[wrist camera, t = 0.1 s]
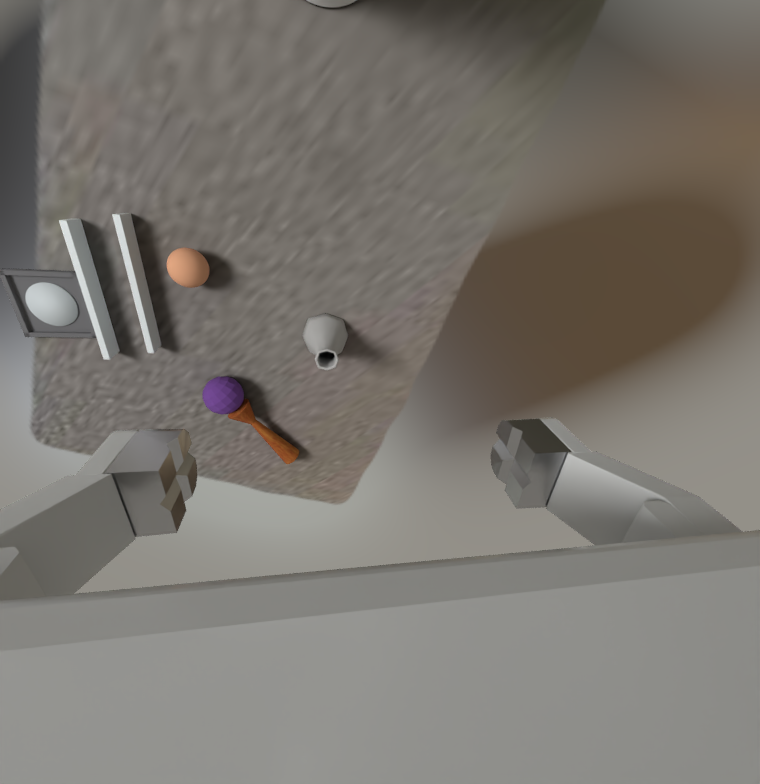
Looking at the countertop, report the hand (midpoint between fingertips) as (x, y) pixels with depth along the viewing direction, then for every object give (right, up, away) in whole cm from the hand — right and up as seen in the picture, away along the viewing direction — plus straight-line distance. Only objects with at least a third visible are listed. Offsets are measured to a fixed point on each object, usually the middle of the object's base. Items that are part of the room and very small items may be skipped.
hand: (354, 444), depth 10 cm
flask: (-8, +11, +48) cm, 50 cm away
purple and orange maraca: (-21, -3, +54) cm, 58 cm away
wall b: (-38, +15, +40) cm, 58 cm away
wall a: (-32, +16, +41) cm, 55 cm away
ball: (-25, +19, +41) cm, 51 cm away
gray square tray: (-44, +14, +40) cm, 61 cm away
